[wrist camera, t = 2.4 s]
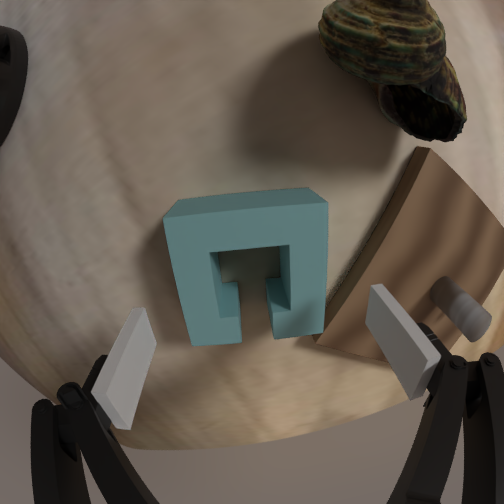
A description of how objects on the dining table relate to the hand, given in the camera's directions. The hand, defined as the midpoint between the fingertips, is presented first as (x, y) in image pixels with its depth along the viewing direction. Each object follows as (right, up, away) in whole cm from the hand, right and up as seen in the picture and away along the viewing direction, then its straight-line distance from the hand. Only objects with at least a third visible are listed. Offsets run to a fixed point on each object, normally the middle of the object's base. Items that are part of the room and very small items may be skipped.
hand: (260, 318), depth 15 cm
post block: (+19, +1, +10) cm, 21 cm away
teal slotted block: (-1, +4, +7) cm, 8 cm away
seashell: (+9, +18, +2) cm, 20 cm away
